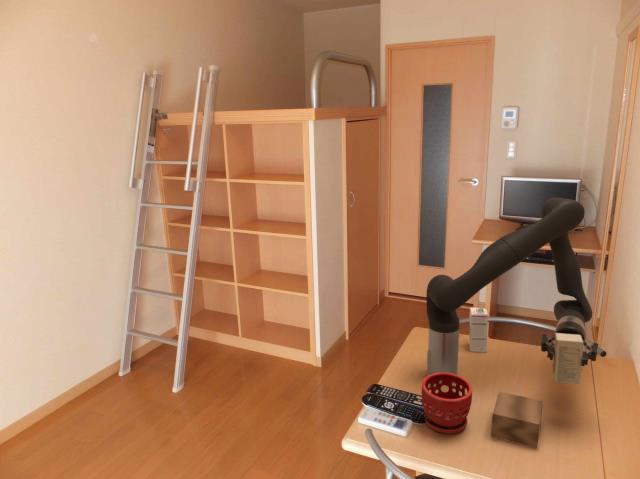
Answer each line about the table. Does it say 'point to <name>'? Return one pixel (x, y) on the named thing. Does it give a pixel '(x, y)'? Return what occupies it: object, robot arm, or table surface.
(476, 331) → the syrup box
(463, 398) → the plant pot
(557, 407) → the table surface
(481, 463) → the table surface
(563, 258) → the robot arm
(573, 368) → the skincare box
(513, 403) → the walnut block
